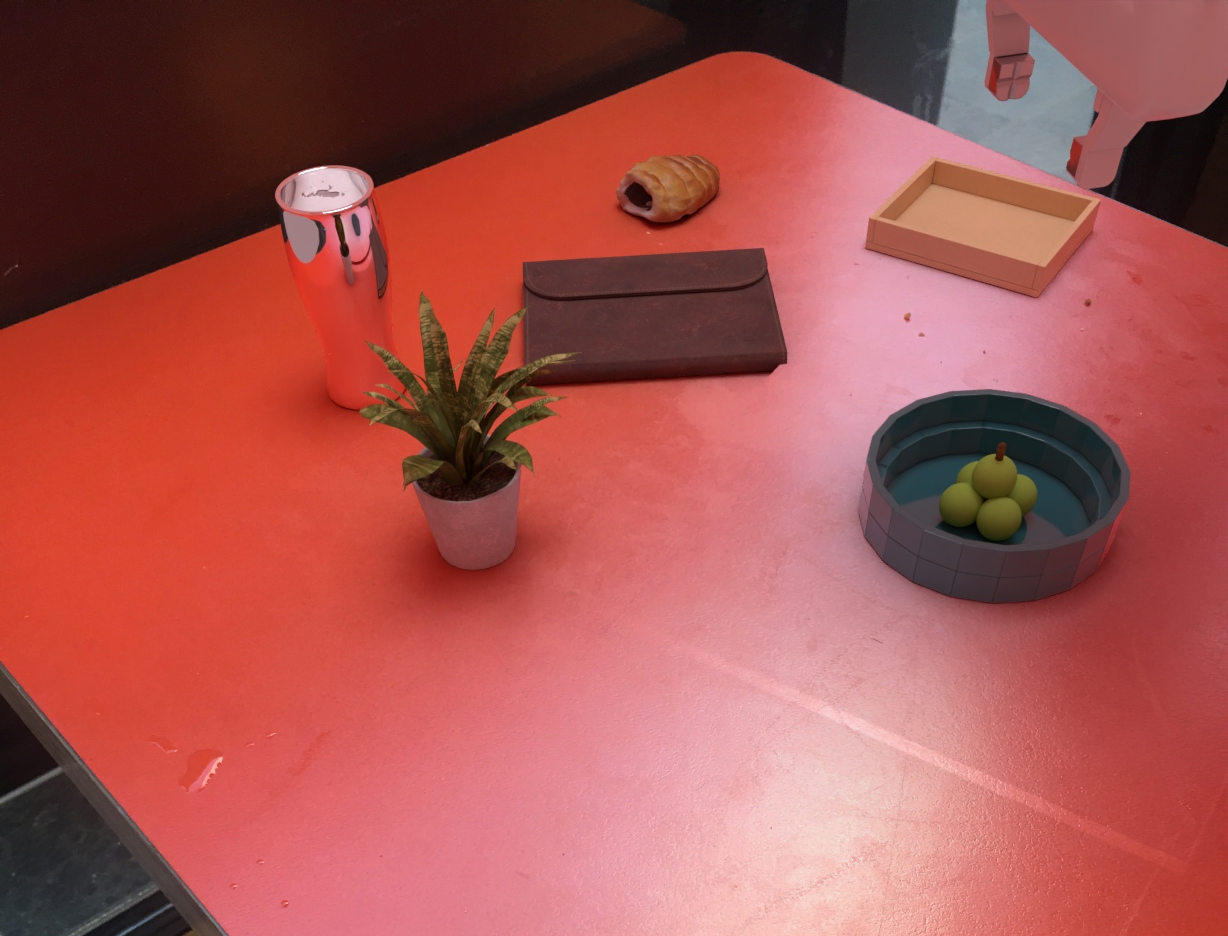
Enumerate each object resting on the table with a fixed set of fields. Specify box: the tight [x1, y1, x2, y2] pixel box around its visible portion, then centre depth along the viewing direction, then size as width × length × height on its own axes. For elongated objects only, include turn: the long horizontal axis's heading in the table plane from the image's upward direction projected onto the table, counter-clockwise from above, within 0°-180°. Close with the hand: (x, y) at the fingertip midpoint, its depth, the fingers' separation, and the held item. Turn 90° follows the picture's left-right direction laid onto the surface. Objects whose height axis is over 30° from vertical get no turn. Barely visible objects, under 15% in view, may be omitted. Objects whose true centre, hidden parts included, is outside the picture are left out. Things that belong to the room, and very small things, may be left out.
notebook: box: [522, 247, 788, 386], centre depth 97 cm, size 15×20×2 cm
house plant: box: [357, 289, 581, 571], centre depth 75 cm, size 14×14×16 cm
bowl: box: [857, 388, 1132, 604], centre depth 80 cm, size 16×16×5 cm
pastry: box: [615, 154, 721, 224], centre depth 107 cm, size 9×7×4 cm
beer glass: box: [274, 164, 407, 411], centre depth 88 cm, size 7×7×15 cm
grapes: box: [939, 442, 1037, 541], centre depth 79 cm, size 5×5×6 cm
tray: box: [864, 155, 1102, 298], centre depth 102 cm, size 15×12×3 cm
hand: (1044, 135), depth 60 cm, fingers open, 8 cm apart
